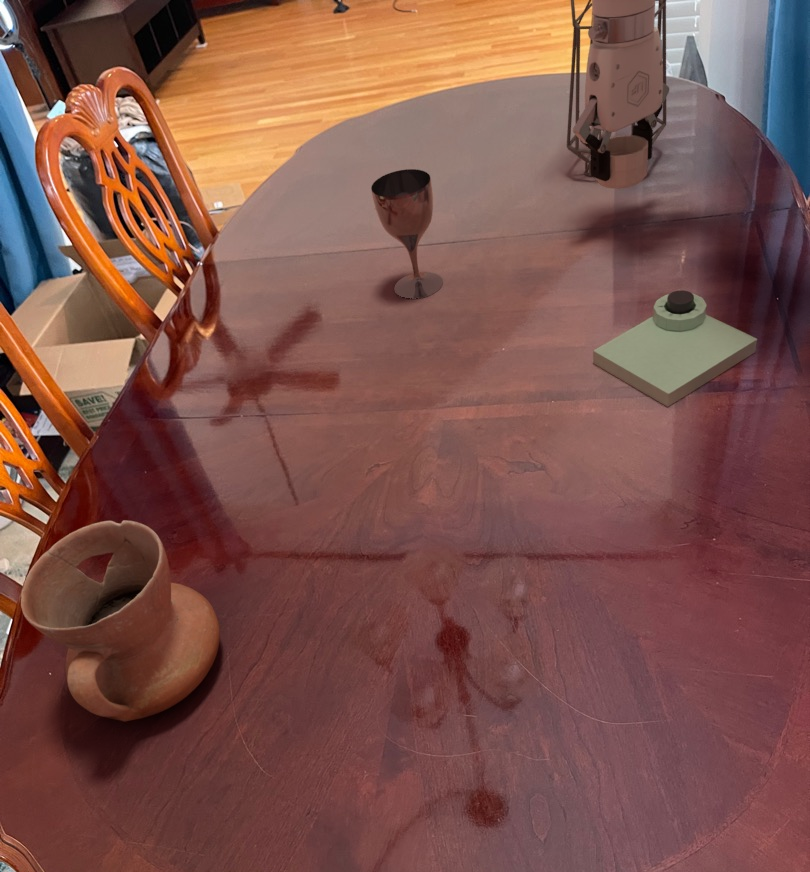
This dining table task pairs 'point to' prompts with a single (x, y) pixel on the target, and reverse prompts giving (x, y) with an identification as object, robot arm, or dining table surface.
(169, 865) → the dining table surface
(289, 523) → the dining table surface
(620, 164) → the bowl
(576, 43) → the geometric lantern
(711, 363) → the scale
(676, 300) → the button
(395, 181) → the wine glass
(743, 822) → the dining table surface
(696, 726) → the dining table surface
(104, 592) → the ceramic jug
